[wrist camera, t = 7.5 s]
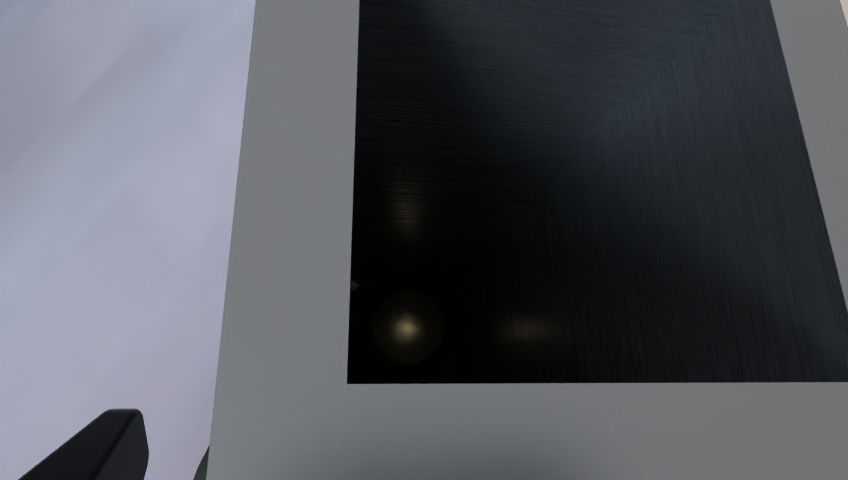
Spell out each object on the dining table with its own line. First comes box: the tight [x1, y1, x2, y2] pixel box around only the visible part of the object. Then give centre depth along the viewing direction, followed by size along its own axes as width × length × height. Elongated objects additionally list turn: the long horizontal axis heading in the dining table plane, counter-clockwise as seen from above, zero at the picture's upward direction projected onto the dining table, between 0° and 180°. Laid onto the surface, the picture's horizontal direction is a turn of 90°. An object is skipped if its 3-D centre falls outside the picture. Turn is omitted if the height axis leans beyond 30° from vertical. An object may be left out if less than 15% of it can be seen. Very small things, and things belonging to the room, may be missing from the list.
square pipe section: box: [206, 0, 848, 480], centre depth 10 cm, size 9×9×13 cm
